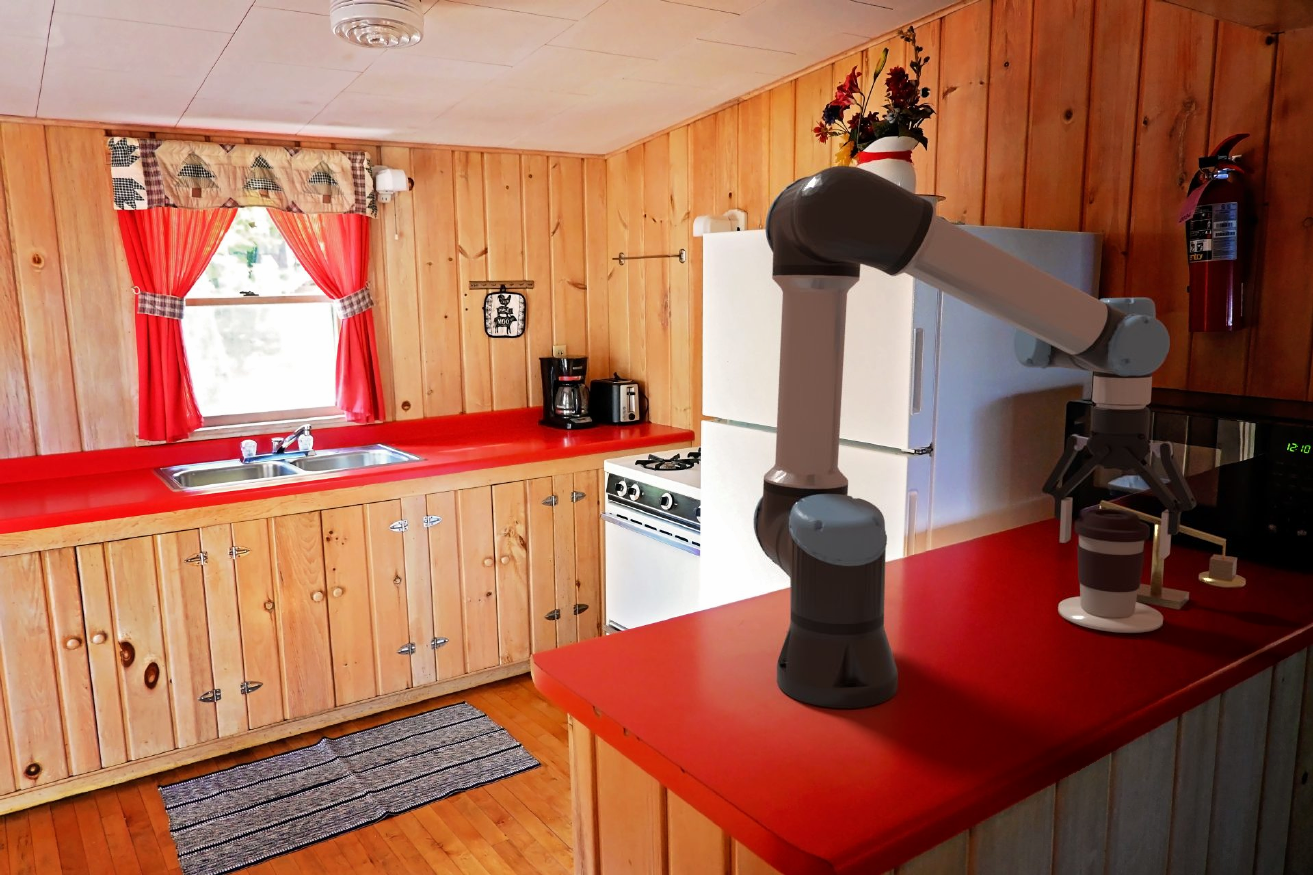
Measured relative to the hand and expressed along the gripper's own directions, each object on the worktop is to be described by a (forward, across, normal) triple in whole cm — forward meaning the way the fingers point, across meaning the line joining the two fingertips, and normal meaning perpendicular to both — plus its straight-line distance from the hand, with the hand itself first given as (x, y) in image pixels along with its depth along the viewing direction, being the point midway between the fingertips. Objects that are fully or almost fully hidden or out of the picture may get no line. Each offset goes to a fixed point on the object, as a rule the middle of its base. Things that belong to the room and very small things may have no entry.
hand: (1113, 548), depth 134 cm
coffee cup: (+10, 0, 0) cm, 10 cm away
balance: (+11, -3, -14) cm, 18 cm away
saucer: (+11, 0, 0) cm, 11 cm away
